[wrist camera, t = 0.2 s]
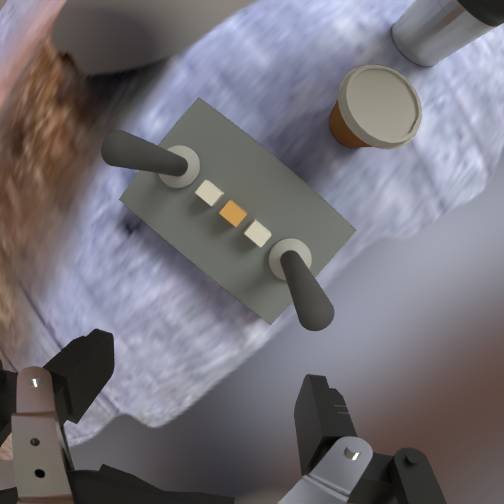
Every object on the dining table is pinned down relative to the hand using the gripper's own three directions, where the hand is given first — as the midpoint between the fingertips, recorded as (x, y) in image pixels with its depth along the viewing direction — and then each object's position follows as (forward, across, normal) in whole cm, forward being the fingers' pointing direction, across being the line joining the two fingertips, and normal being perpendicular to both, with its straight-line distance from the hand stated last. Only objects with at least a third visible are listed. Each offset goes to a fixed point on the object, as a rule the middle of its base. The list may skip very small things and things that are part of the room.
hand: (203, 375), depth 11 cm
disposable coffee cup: (+30, -11, -19) cm, 37 cm away
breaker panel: (+29, +2, -4) cm, 29 cm away
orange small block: (+25, +2, -4) cm, 25 cm away
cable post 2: (+25, -6, 0) cm, 26 cm away
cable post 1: (+25, +9, -8) cm, 28 cm away
